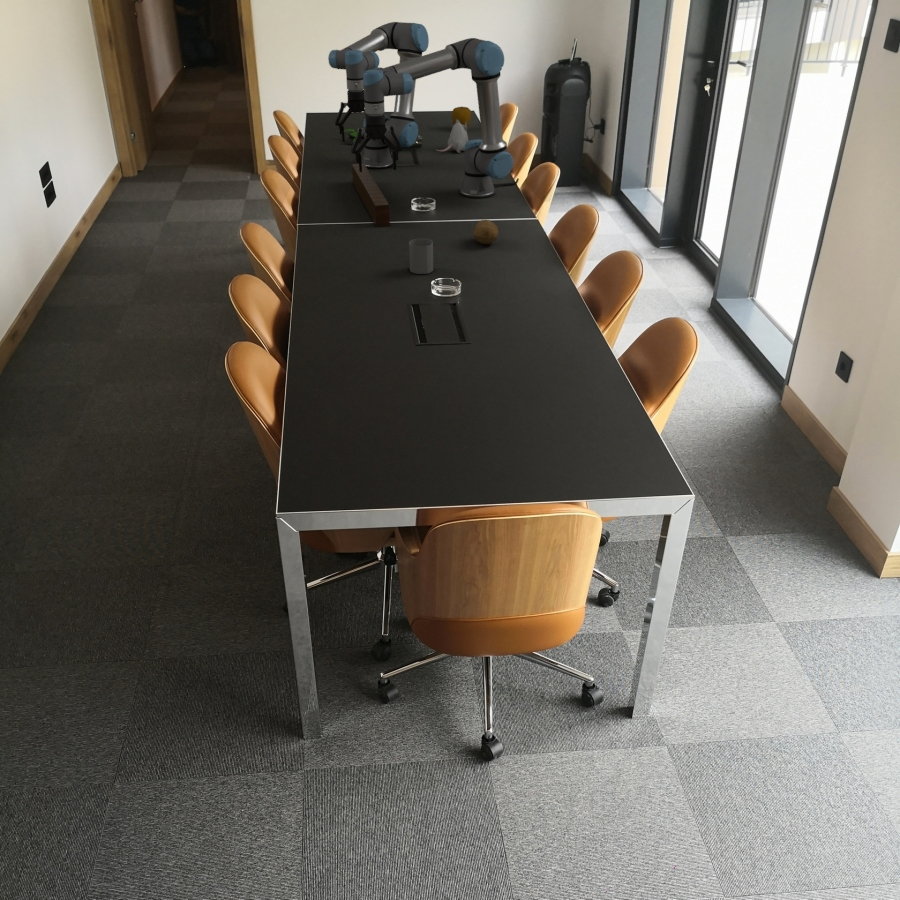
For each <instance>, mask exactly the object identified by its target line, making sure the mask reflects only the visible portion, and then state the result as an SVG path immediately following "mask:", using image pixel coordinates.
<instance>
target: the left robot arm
mask: <svg viewBox="0 0 900 900" xmlns="http://www.w3.org/2000/svg"><path fill="white" fill-rule="evenodd" d="M429 38H430V37H429V33H428V30H427V28H426V27H425V25H423V24H422V23H417V22H402V21H391V22H387V23H385V24H382V25H380V26H378V27H376V28H374V29H372V30H371V31H370V34H367V35H366V36H364V37H362V38H361V39H358V40H357V41H355V42H354V43H352V44H349V45H348V46H346V47H344V48H342V49H332V50H330V51H329V53H328V58H327V59H328V65H329V66H330V68H332V69H336V70H344V71H345V75H346V78H345V79H346V89H347V91H346V94H347V101H346V102H343V101H341V102H340V106H339V107H340V108H339V111H338V113H337V115H336V117H335V119H334V125H335V126H337V127H338V133H339V135H341V140H342V141H343V142H342V141H341V142H342V143H344V142H345V132H344V130H345V127H344V124H345V123H346V121H347V120H348V118H349V117H350V116H351V115H352V113H353V114H361V113H364V114H365V115H366V113H365V99H364V85H363V74H364V72H365V71H367V70H373V69H374V68H377V67H379V66H380V57H379V55H378V54H377V53H376V52H377V51H378V52H382V51H384V50H396V54H397V55H398V56H399V61H398V64H399V63H402V62H405V61H408V60H411V59H414V58H418V57H421V56H423V53H424V52H427V50H428V49H429V48H428V47H429V40H430V39H429ZM416 81H417V79H416V80H413V90H412V92H411V93H409V94H404V95H395V98H394V109H393V112H392V113H390V115H389V117H388V115H387V114H384V115H385V126H386V127H389V126H390V125H391V126H393V128H394V133H395V135H396V137H397V139H398V141H399V143H400V145H401V146H402V148H410V147H412V146H413V145H414V144H415V143H416V141H417V138H418V134H419V127H418V123H417V122H415V117H414V115H413V108H414V100H415V91H416V84H417V83H416ZM346 107H347V108H348V109H347V111H346V113H344V110H345V109H346ZM343 113H344V115H343ZM342 116H343V117H342ZM365 127H366V120H365V118H364V119H363V127H362V128H365ZM363 134H364V139H365V137H366V135H367V133H366V132H364V133H363ZM384 135H385V136H386V137H387V138H388V139H389V140H390V142H391V143H392V144H393V145H394V146H395V147H398V146H397V144H396V142H395V140H394V139H393V137H392V135H391V133H390V132H389V131H388V130H387V131H386V132H385V134H384ZM364 139H363V140H364ZM390 151H391V150H390V145H389V144H388V143H387V142H386V141H385V140H384V139H383V138H381V139H375V140H372V139H370V140H369V141H368V143H367V144H366V145H365V147H364V151H363V155H362V158H361V161H362V164H364V165H365V166H366V168H367V169H371V170H381V169H387V168H390V167H393V156H392V153H391V152H390Z"/></svg>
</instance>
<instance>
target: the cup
mask: <svg viewBox="0 0 900 900" xmlns="http://www.w3.org/2000/svg"><path fill="white" fill-rule="evenodd" d="M408 253H409V272H411V273H412V274H416V275H426V274H430V273H432V272H434V241H433V240H431V239H428V238H422V237H421V238H420V237H419V238H414V239H411V240H410V241H409V242H408Z"/></svg>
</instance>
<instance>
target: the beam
mask: <svg viewBox="0 0 900 900" xmlns="http://www.w3.org/2000/svg"><path fill="white" fill-rule="evenodd" d="M351 170H352V171H351V172H352V173H351V174H352V184H353V186H354V187H355V190H356V191H357V194H358V195H359V197H360V199H361V200H362V202H363V205H364V207H365V208H366V210H367V212H368V214H369V215H370V218H371V219H372V221H373V223H374V225H375V227H376V228H378V227H390V226H391V222H390V221H391V220H390V219H391V217H390V204H389V202H388V200H387V199H386V197H385V196H384V194H383V192H382V190H380V187H379V186H378V184H377V183H376V180H375V179H374V178H373V176H372V174H371V173H370V171H369V170H368V168H366V166H365V165H364V164H362V172H360V171H359V163H352V164H351Z"/></svg>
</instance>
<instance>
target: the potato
mask: <svg viewBox="0 0 900 900" xmlns="http://www.w3.org/2000/svg"><path fill="white" fill-rule="evenodd" d="M472 232H473V233H472V234H473V238H474V239H475V241H477V242H478V243H479V244H482V245H490V244H491V243H493V242H495V241H496V240H497V238H498V235H499V228H498V226H497V225H496V224H495V223H494V222H492V221H491V220H490V219H481V220H480V221H478V222H477V223H476V224H475V225H474V228H473V231H472Z"/></svg>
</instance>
